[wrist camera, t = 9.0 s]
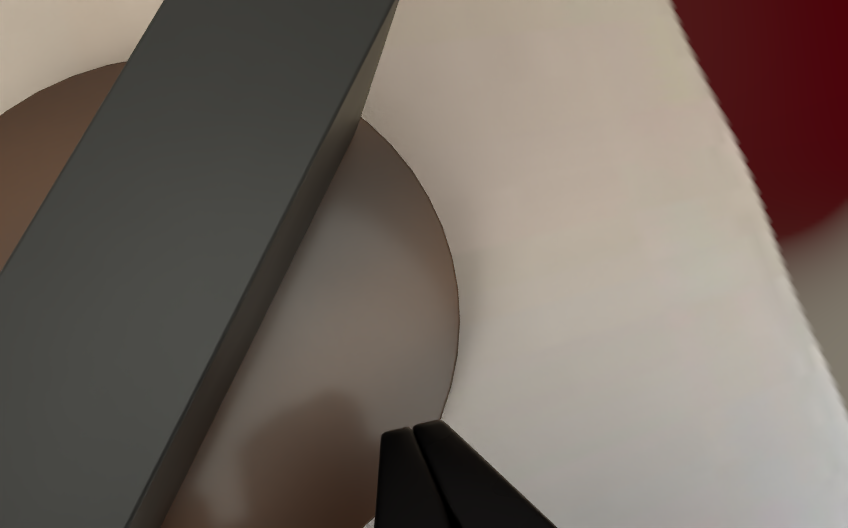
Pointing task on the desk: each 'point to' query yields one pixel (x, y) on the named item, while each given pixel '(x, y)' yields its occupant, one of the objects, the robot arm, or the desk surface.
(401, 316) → the shallow brown dish
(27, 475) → the clock
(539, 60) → the desk surface
